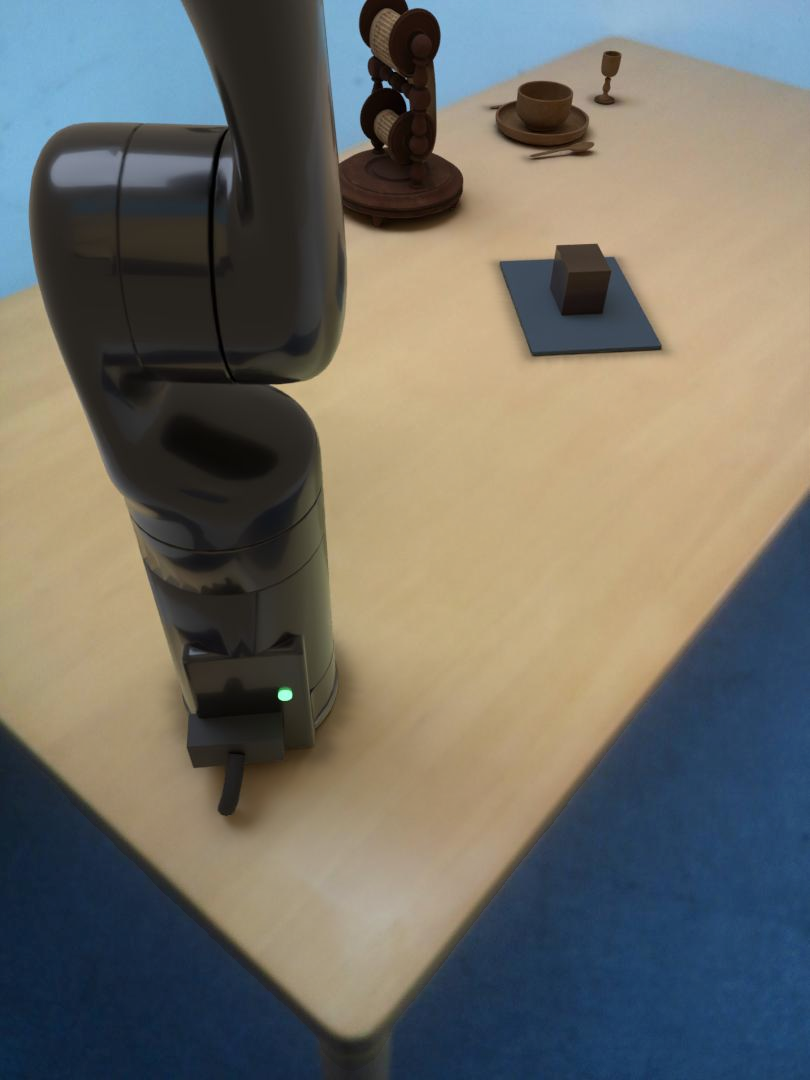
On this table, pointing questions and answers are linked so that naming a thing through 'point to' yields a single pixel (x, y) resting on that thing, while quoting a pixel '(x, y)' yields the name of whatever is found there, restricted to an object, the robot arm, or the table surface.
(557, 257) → the walnut block
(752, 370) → the table surface
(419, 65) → the brown wooden upright stand
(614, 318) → the grey mat
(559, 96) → the place setting
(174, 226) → the robot arm
